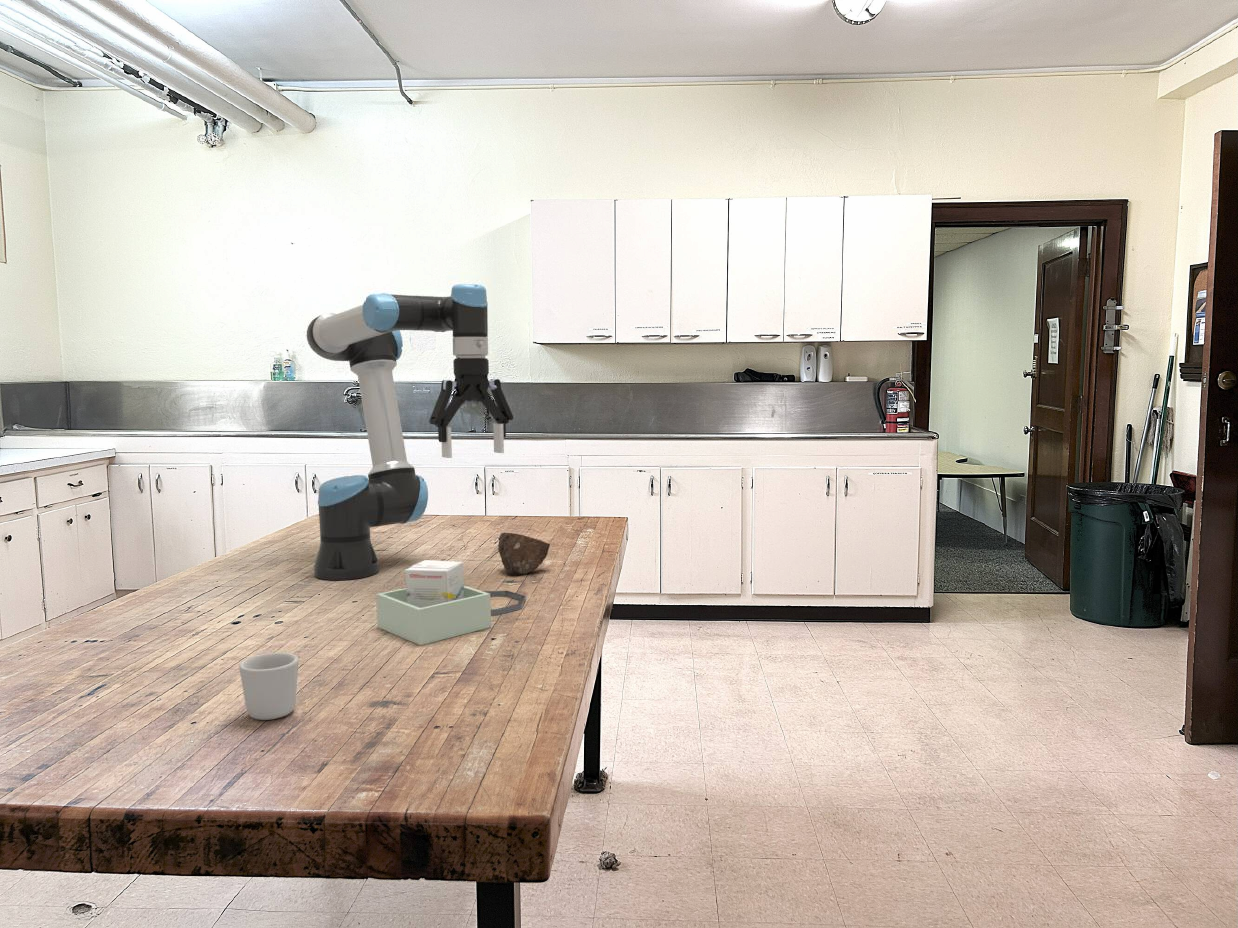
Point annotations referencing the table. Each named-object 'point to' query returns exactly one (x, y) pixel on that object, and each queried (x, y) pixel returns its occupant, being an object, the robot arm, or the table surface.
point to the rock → (521, 553)
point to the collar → (508, 608)
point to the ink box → (434, 583)
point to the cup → (269, 684)
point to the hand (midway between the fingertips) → (473, 455)
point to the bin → (433, 616)
